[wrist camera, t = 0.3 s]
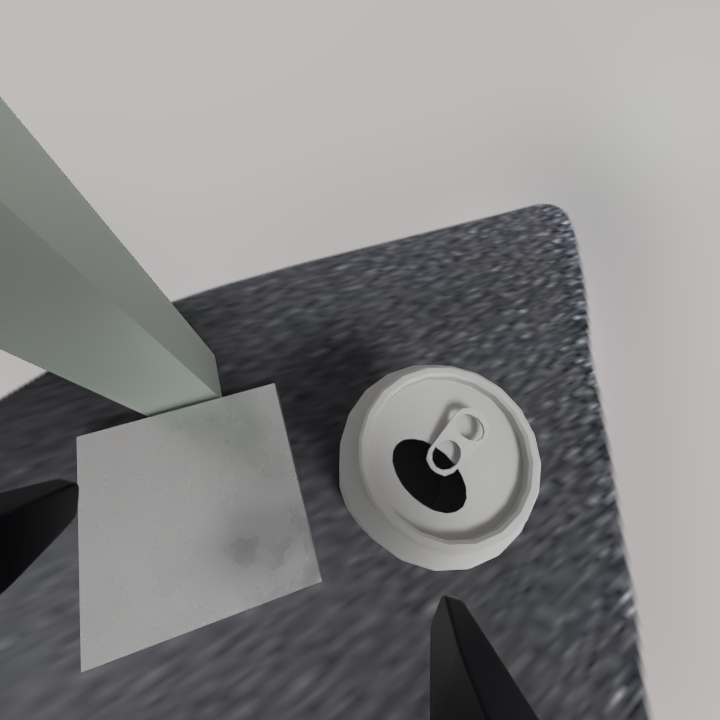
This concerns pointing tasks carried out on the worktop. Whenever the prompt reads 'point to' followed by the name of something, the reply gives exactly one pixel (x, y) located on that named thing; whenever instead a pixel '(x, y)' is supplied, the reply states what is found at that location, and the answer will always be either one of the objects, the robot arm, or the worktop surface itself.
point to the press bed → (188, 522)
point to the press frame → (86, 293)
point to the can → (439, 466)
